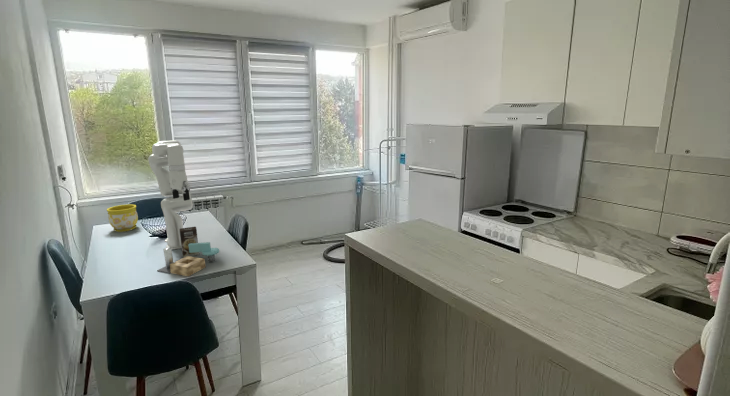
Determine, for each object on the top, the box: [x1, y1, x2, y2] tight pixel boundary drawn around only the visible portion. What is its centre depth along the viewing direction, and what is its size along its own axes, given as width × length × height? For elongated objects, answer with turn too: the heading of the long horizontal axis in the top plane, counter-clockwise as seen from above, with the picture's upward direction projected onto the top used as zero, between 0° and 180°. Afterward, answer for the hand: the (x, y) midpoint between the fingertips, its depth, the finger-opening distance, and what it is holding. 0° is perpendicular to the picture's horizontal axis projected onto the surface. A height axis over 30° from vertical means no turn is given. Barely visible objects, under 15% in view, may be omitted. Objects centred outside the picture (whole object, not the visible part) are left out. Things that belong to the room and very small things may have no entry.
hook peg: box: [163, 247, 175, 269], centre depth 200 cm, size 4×4×11 cm
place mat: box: [157, 265, 172, 274], centre depth 201 cm, size 9×9×1 cm
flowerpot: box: [106, 203, 139, 233], centre depth 268 cm, size 18×18×16 cm
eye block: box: [170, 256, 206, 277], centre depth 199 cm, size 12×12×5 cm
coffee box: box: [179, 226, 200, 258], centre depth 219 cm, size 9×6×16 cm
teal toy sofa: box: [188, 241, 220, 263], centre depth 209 cm, size 16×9×11 cm, turn 100°
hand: (181, 199), depth 203 cm, fingers open, 9 cm apart
